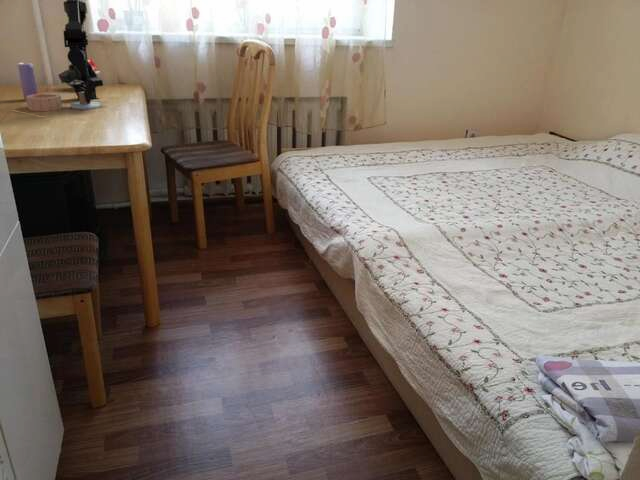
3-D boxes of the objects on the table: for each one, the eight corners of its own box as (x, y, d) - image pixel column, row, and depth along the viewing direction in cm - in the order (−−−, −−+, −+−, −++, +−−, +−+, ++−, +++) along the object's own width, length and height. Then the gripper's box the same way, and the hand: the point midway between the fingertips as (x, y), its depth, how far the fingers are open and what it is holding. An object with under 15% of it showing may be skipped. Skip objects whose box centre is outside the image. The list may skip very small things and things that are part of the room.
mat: (90, 104, 222) (90, 103, 221) (106, 107, 217) (106, 106, 217) (64, 108, 212) (64, 107, 212) (80, 111, 208) (80, 110, 207)
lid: (88, 103, 221) (86, 89, 219) (106, 107, 216) (104, 92, 214) (65, 107, 213) (62, 92, 210) (82, 110, 207) (80, 95, 205)
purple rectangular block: (33, 101, 224) (26, 64, 218) (21, 100, 225) (13, 63, 219) (43, 99, 229) (36, 63, 223) (30, 98, 231) (24, 62, 224)
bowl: (50, 105, 218) (48, 92, 216) (68, 108, 213) (66, 95, 210) (22, 109, 209) (19, 96, 207) (40, 113, 203) (38, 99, 201)
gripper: (45, 61, 205) (52, 102, 212) (75, 65, 197) (82, 108, 203) (71, 59, 214) (77, 99, 220) (101, 63, 205) (106, 104, 212)
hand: (85, 102), depth 214 cm, fingers open, 4 cm apart
